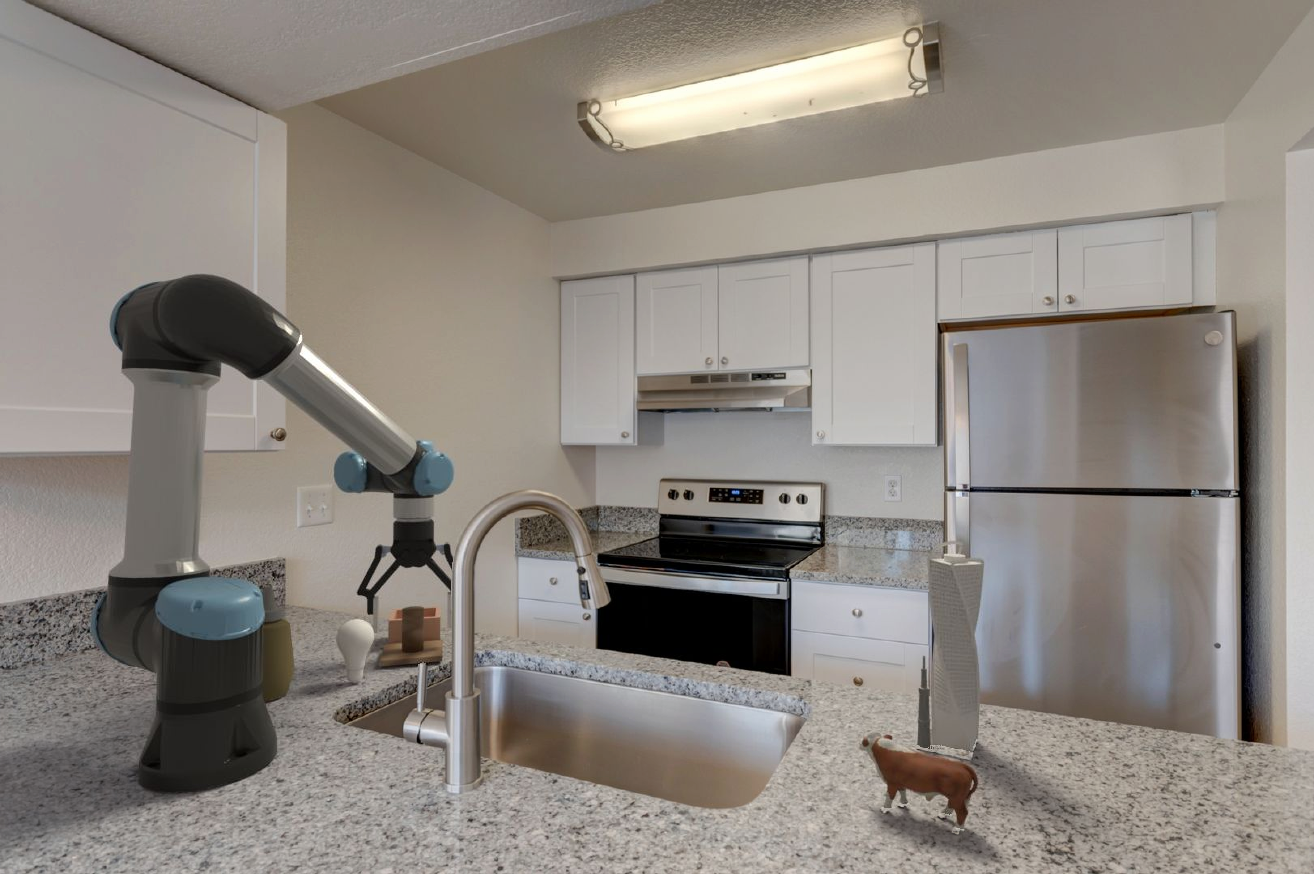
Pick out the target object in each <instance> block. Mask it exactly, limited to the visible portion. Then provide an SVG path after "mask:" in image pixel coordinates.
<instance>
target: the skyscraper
mask: <svg viewBox="0 0 1314 874" xmlns="http://www.w3.org/2000/svg"><path fill="white" fill-rule="evenodd" d="M949 545H959V548H958V551H957V553H944V554H943V558H932V557H933V555H934V554H935V553H936V551H938V550H939V549H940V548H942V547H943V548H944V547H945V546H949ZM963 548H964V543H963V542H962V541H959V540H951V541H950V540H949V541H944V542H942V543H939V544H937V545H936V546H935V547H934V548H933V549H932V550H931V552H930V553H929V554H928V557H927V560H926V561H927V577H928V578H927V579H928V593H929V604H930V605H929V606H930V608H929V609H930V615H931V623H932V629H933V634H934V635H933V636H934V638H933V647H932V660H931V680H930V681H931V683H930V684H931V685H930V686H931V688H930V687H929V686H928V676H927V674H928V672H927V671H928V668H926V655H922V667H921V668H920V671H921V672H920V673H921V675H920V678H921V681H920V685H919V686H918V688H917V689H918V716H917V720H916V721H917V740H916V741H917V743H916V745H919V746H920V747H923V748H928V747H929V748H928V749H930V745H940V746H941V745H942V746H946V747H950V748H954V749H963V750H966V751H970V752H973V751H972V749H973V746H974V744H975V741H976V739H978V740H979V727H980V726H979V725H980V724H979V723H980V709H981V708H980V704H981V703H980V701H981V698H980V697H981V690H980V689H981V687H980V685H981V684H980V664H979V657H978V656H979V655H978V647H977V641H976V635H975V634H976V630H977V625H978V620H979V615H980V610H981V609H980V608H981V601H982V593H983V592H982V591H983V583H984V571H985V570H984V569H985V561H984V559H982V558H980V557H978V558H977V557H971V558H970V557H969V558H967V557H966V555H965V554H962V551H963ZM930 691H931V693H930ZM930 694H931V697H930ZM930 700H931V702H930ZM930 704H931V706H930ZM930 707H931V708H930ZM930 709H931V715H930ZM930 716H931V717H930ZM931 740H932V741H931ZM931 749H932V746H931ZM933 749H934V747H933ZM937 749H939V748H937ZM940 749H941V748H940Z"/></svg>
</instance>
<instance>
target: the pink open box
mask: <svg viewBox="0 0 1314 874" xmlns="http://www.w3.org/2000/svg"><path fill="white" fill-rule="evenodd" d="M423 607H424V606H423ZM402 609H403V608H394V609H391V612H390V615H389V618H388V624H387V626H388V630H387V631H388V633H387V634H388V635H387V641H388V642H387V644H395V643H402ZM441 617H442V606H425V607H424V641H435V640H442V639H441V637H442V636H441V635H442V633H441V631H442V625H441V624H442V619H441Z"/></svg>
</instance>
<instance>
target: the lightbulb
mask: <svg viewBox="0 0 1314 874" xmlns="http://www.w3.org/2000/svg"><path fill="white" fill-rule="evenodd" d="M374 640H375V633H374V631H373V626H372V625H371V624H370V623H369V622H368V621H366V620H363V619H358V618H357V619H355V618H354V619H351V620H348V621H346V622H345V623H343V624H342V625H341V626H340V627H339V629H338V630H337V634H336V637H335V643H336V646H337V648H338V651H340V653H341V655H342V657H343V660H344V667H345V669H346V678H347V679H346V680H347V682H350V683H352V684H357V683H359V682H360V681H361V680H362V679H363V677H364V668H365V665H366V659H367V655H368V653H369V651H370V649H371V647H372V645H373V643H374Z"/></svg>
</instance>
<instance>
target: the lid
mask: <svg viewBox="0 0 1314 874" xmlns="http://www.w3.org/2000/svg"><path fill="white" fill-rule="evenodd" d="M401 609H402V643H395V644H388V643H386V644H384V646H383V649H382V651H381V656H380V658H379V667H386V666H387V667H388V666H398V665H411V664H421V663H420V662H425V663H431V662H432V663H435V662H437V663H438V662H443V650H444V649H443V643H444V641H443V639H441V640H435V641H424V606H422V605H421V606H420V605H417V606H416V605H415V606H413V605H412V606H407V607H404V608H401Z"/></svg>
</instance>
